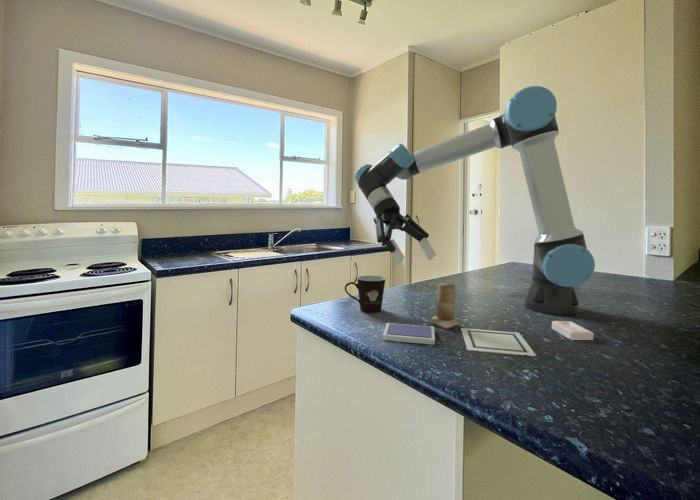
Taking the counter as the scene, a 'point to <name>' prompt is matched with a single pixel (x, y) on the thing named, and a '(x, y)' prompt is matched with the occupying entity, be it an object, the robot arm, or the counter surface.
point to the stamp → (445, 307)
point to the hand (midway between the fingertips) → (417, 259)
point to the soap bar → (572, 330)
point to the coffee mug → (369, 292)
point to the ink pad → (409, 333)
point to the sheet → (496, 342)
